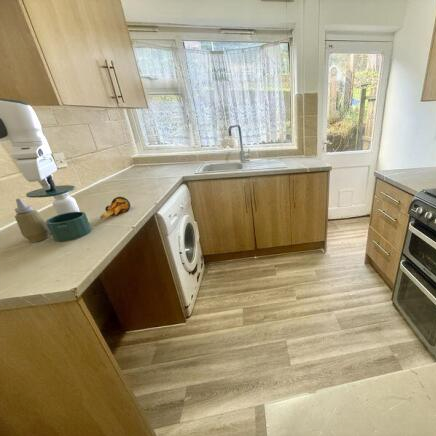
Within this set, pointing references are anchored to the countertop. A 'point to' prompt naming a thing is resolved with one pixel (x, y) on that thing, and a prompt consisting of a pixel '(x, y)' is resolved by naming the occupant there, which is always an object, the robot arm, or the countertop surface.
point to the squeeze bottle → (30, 222)
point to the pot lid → (52, 192)
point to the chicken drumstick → (117, 207)
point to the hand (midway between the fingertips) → (49, 188)
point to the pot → (68, 226)
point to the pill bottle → (65, 204)
